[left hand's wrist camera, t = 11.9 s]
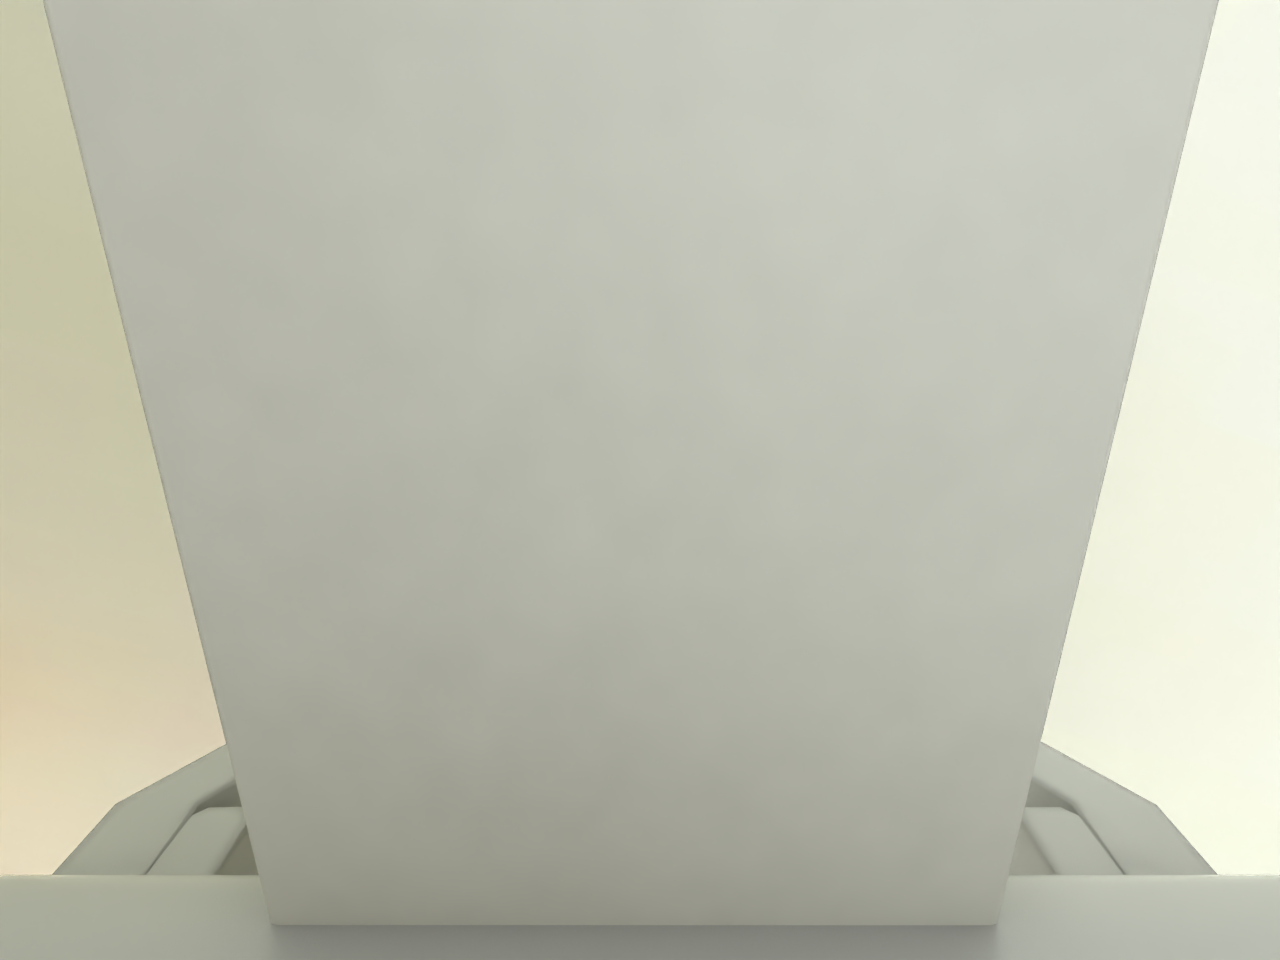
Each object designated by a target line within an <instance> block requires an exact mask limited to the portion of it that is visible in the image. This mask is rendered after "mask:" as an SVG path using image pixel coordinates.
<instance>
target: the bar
mask: <svg viewBox="0 0 1280 960" xmlns="http://www.w3.org/2000/svg"><path fill="white" fill-rule="evenodd" d="M1218 1H1219V0H43V3H44V7H45V11H46V15H47V19H48V23H49V27H50V31H51V35H52V39H53V43H54V47H55V51H56V55H57V59H58V63H59V68H60V72H61V76H62V80H63V84H64V88H65V92H66V96H67V100H68V104H69V108H70V112H71V116H72V120H73V124H74V128H75V132H76V136H77V140H78V145H79V149H80V153H81V157H82V161H83V165H84V169H85V173H86V177H87V181H88V185H89V189H90V193H91V197H92V201H93V205H94V209H95V213H96V217H97V222H98V226H99V230H100V234H101V238H102V242H103V246H104V250H105V254H106V258H107V262H108V266H109V270H110V274H111V278H112V282H113V286H114V290H115V294H116V299H117V303H118V307H119V311H120V315H121V319H122V323H123V327H124V331H125V335H126V339H127V343H128V347H129V351H130V355H131V359H132V363H133V367H134V371H135V376H136V380H137V384H138V388H139V392H140V396H141V400H142V404H143V408H144V412H145V416H146V420H147V424H148V428H149V432H150V436H151V440H152V444H153V448H154V453H155V457H156V461H157V465H158V469H159V473H160V477H161V481H162V485H163V489H164V493H165V497H166V501H167V505H168V509H169V513H170V517H171V521H172V525H173V530H174V534H175V538H176V542H177V546H178V550H179V554H180V558H181V562H182V566H183V570H184V574H185V578H186V582H187V586H188V590H189V594H190V598H191V602H192V607H193V611H194V615H195V619H196V623H197V627H198V631H199V635H200V639H201V643H202V647H203V651H204V655H205V659H206V663H207V667H208V671H209V675H210V679H211V684H212V688H213V692H214V696H215V700H216V704H217V708H218V712H219V716H220V720H221V724H222V728H223V732H224V736H225V740H226V744H227V748H228V752H229V756H230V761H231V765H232V769H233V773H234V777H235V781H236V785H237V789H238V793H239V797H240V801H241V805H242V809H243V813H244V817H245V821H246V825H247V829H248V833H249V838H250V842H251V846H252V850H253V854H254V858H255V862H256V866H257V870H258V874H259V878H260V882H261V886H262V890H263V894H264V898H265V902H266V906H267V910H268V915H269V919H270V923H271V924H274V925H995V924H997V920H998V916H999V912H1000V908H1001V904H1002V900H1003V895H1004V891H1005V887H1006V883H1007V879H1008V875H1009V871H1010V866H1011V862H1012V858H1013V854H1014V850H1015V846H1016V841H1017V837H1018V833H1019V829H1020V825H1021V821H1022V816H1023V812H1024V808H1025V804H1026V800H1027V796H1028V791H1029V787H1030V783H1031V779H1032V775H1033V771H1034V767H1035V762H1036V758H1037V754H1038V750H1039V746H1040V742H1041V737H1042V733H1043V729H1044V725H1045V721H1046V717H1047V712H1048V708H1049V704H1050V700H1051V696H1052V692H1053V687H1054V683H1055V679H1056V675H1057V671H1058V667H1059V663H1060V658H1061V654H1062V650H1063V646H1064V642H1065V638H1066V633H1067V629H1068V625H1069V621H1070V617H1071V613H1072V608H1073V604H1074V600H1075V596H1076V592H1077V588H1078V583H1079V579H1080V575H1081V571H1082V567H1083V563H1084V559H1085V554H1086V550H1087V546H1088V542H1089V538H1090V534H1091V529H1092V525H1093V521H1094V517H1095V513H1096V509H1097V504H1098V500H1099V496H1100V492H1101V488H1102V484H1103V480H1104V475H1105V471H1106V467H1107V463H1108V459H1109V455H1110V450H1111V446H1112V442H1113V438H1114V434H1115V430H1116V425H1117V421H1118V417H1119V413H1120V409H1121V405H1122V400H1123V396H1124V392H1125V388H1126V384H1127V380H1128V376H1129V371H1130V367H1131V363H1132V359H1133V355H1134V351H1135V346H1136V342H1137V338H1138V334H1139V330H1140V326H1141V321H1142V317H1143V313H1144V309H1145V305H1146V301H1147V296H1148V292H1149V288H1150V284H1151V280H1152V276H1153V272H1154V267H1155V263H1156V259H1157V255H1158V251H1159V247H1160V242H1161V238H1162V234H1163V230H1164V226H1165V222H1166V217H1167V213H1168V209H1169V205H1170V201H1171V197H1172V192H1173V188H1174V184H1175V180H1176V176H1177V172H1178V168H1179V163H1180V159H1181V155H1182V151H1183V147H1184V143H1185V138H1186V134H1187V130H1188V126H1189V122H1190V118H1191V113H1192V109H1193V105H1194V101H1195V97H1196V93H1197V89H1198V84H1199V80H1200V76H1201V72H1202V68H1203V64H1204V59H1205V55H1206V51H1207V47H1208V43H1209V39H1210V34H1211V30H1212V26H1213V22H1214V18H1215V14H1216V9H1217V5H1218Z"/></svg>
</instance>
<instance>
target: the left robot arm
mask: <svg viewBox="0 0 1280 960" xmlns="http://www.w3.org/2000/svg"><path fill="white" fill-rule="evenodd" d="M0 960H1280V875H1217V873H1216V872H1215V871H1214V870H1213V869H1212V868H1211V867H1210V865H1209V864H1208V863H1207V862H1206V861H1205V860H1204V859H1203V857H1202V856H1201V855H1200V854H1199V853H1198V852H1197V851H1196V850H1195V848H1194V847H1193V846H1192V845H1191V844H1190V843H1189V842H1188V840H1187V839H1186V838H1185V837H1184V836H1183V835H1182V834H1181V832H1180V831H1179V830H1178V829H1177V828H1176V827H1175V826H1174V824H1173V823H1172V822H1171V821H1170V820H1169V819H1168V818H1167V816H1166V815H1165V814H1164V813H1163V812H1162V811H1161V810H1160V809H1159V807H1158V806H1157V805H1155V804H1153V803H1152V802H1150V801H1148V800H1146V799H1144V798H1143V797H1141V796H1139V795H1137V794H1135V793H1134V792H1132V791H1130V790H1128V789H1126V788H1124V787H1123V786H1121V785H1119V784H1117V783H1115V782H1114V781H1112V780H1110V779H1108V778H1106V777H1104V776H1103V775H1101V774H1099V773H1097V772H1095V771H1094V770H1092V769H1090V768H1088V767H1086V766H1084V765H1083V764H1081V763H1079V762H1077V761H1075V760H1074V759H1072V758H1070V757H1068V756H1066V755H1064V754H1063V753H1061V752H1059V751H1057V750H1055V749H1054V748H1052V747H1050V746H1048V745H1046V744H1044V743H1043V742H1040V746H1039V750H1038V754H1037V758H1036V762H1035V767H1034V771H1033V775H1032V779H1031V783H1030V787H1029V791H1028V796H1027V800H1026V804H1025V808H1024V812H1023V816H1022V821H1021V825H1020V829H1019V833H1018V837H1017V841H1016V846H1015V850H1014V854H1013V858H1012V862H1011V866H1010V871H1009V875H1008V879H1007V883H1006V887H1005V891H1004V895H1003V900H1002V904H1001V908H1000V912H999V916H998V920H997V924H995V925H274V924H271V923H270V919H269V915H268V910H267V906H266V902H265V898H264V894H263V890H262V886H261V882H260V878H259V874H258V870H257V866H256V862H255V858H254V854H253V850H252V846H251V842H250V838H249V833H248V829H247V825H246V821H245V817H244V813H243V809H242V805H241V801H240V797H239V793H238V789H237V785H236V781H235V777H234V773H233V769H232V765H231V761H230V756H229V752H228V748H227V744H225V745H224V746H222V747H220V748H218V749H216V750H214V751H212V752H211V753H209V754H207V755H205V756H203V757H201V758H200V759H198V760H196V761H194V762H192V763H190V764H189V765H187V766H185V767H183V768H181V769H179V770H178V771H176V772H174V773H172V774H170V775H168V776H166V777H165V778H163V779H161V780H159V781H157V782H155V783H154V784H152V785H150V786H148V787H146V788H144V789H143V790H141V791H139V792H137V793H135V794H133V795H131V796H130V797H128V798H126V799H124V800H122V801H120V802H119V803H117V804H115V805H114V807H113V808H112V809H111V810H110V811H109V812H108V813H107V814H106V815H105V817H104V818H103V819H102V820H101V821H100V822H99V823H98V824H97V825H96V827H95V828H94V829H93V830H92V831H91V832H90V833H89V834H88V835H87V837H86V838H85V839H84V840H83V841H82V842H81V843H80V844H79V845H78V847H77V848H76V849H75V850H74V851H73V852H72V853H71V854H70V855H69V857H68V858H67V859H66V860H65V861H64V862H63V863H62V864H61V865H60V867H59V868H58V869H57V870H56V871H55V872H54V873H53V874H52V875H0Z"/></svg>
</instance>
